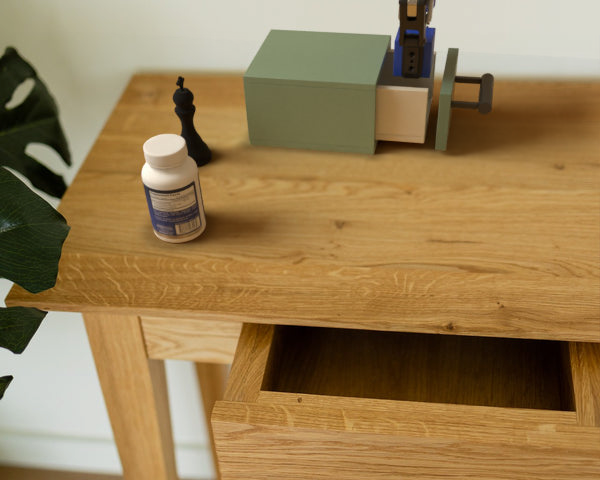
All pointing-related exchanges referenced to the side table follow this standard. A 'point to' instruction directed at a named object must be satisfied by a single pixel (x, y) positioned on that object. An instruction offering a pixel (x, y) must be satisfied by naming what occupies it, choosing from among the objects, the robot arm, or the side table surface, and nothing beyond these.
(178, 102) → the chess piece
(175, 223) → the pill bottle
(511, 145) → the side table surface
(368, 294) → the side table surface
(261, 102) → the green drawer cabinet
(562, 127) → the side table surface
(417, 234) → the side table surface
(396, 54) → the blue rectangular box
